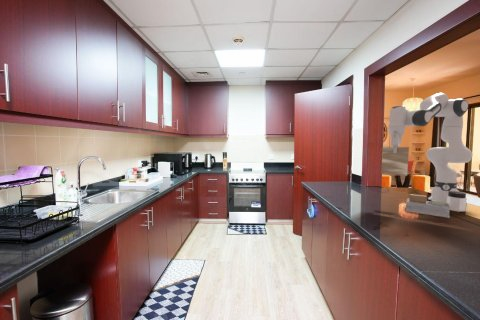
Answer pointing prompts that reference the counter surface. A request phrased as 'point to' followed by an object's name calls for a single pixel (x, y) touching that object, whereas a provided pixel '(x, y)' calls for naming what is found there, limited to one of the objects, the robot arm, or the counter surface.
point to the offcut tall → (417, 198)
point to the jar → (456, 201)
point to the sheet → (395, 161)
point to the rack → (428, 208)
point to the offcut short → (438, 203)
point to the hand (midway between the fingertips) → (395, 152)
